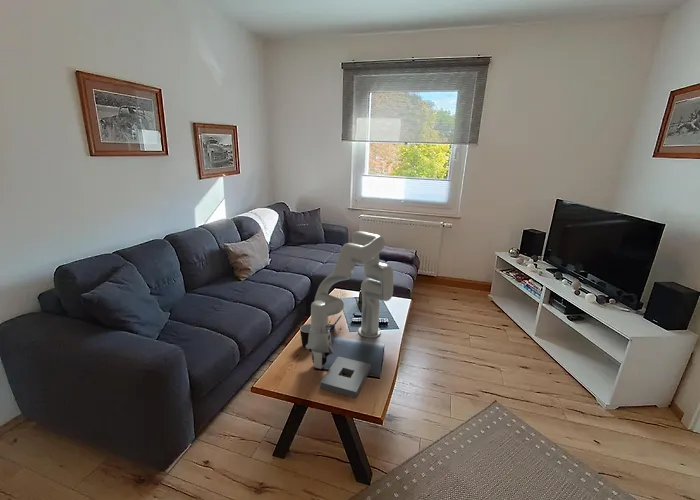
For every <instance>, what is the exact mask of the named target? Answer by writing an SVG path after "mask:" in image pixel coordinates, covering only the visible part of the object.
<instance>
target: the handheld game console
mask: <svg viewBox="0 0 700 500" xmlns="http://www.w3.org/2000/svg"><path fill="white" fill-rule="evenodd" d="M341 318H342V314H340V316H339V317H338V318H337V320H336V321H335V322H334V323H333V324H331V323H330V324H329V323H328V327H331V329H330V334H331V333H332V332H333V330H334V329H335V327H336V324H337V323H338V322H339V321H340V319H341Z"/></svg>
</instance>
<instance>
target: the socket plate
mask: <svg viewBox="0 0 700 500" xmlns="http://www.w3.org/2000/svg"><path fill="white" fill-rule="evenodd" d="M370 371H371V363H366V362H363V361H359V360H355V359H350V358H346V357H343V356H337V357H336V359H334V362H333V363H332V365H331V366H330V367H329V369H328V370H327V372H326V373H325V375H324V376H323V378H322V379H321V381H320V382H319V386H320V388H319V389H320V390H321V389H323V390H326V391H327V392H328V391H330V392H331V393H336V394H339V395H342V396H347V397H351V398H354V399H357V397H358V395H359V392H360V391H361V389H362V387H363V385H364V384H365V381H366V380H367V377H368V375H369V373H370ZM343 375H346V376H343ZM347 375H348V377H347ZM349 376H350V377H349Z"/></svg>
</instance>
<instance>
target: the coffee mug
mask: <svg viewBox="0 0 700 500" xmlns="http://www.w3.org/2000/svg"><path fill="white" fill-rule="evenodd" d="M310 329H311V323H307V324H306V323H305V324H301V326H300V328H299V331H300V339H301V345H302V346H301V347H302V348H303V349H306V350H308V349H307V348H306V347H305V346H306V345H307V343H308V337H309V332H310Z"/></svg>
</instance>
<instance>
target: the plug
mask: <svg viewBox="0 0 700 500" xmlns="http://www.w3.org/2000/svg"><path fill="white" fill-rule="evenodd" d="M322 357H323V355H322V352H320V351H316V350H315V351H314V363H313V368H317V369H320V370H322V369H323V368H324V366H325V365H322Z"/></svg>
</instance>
